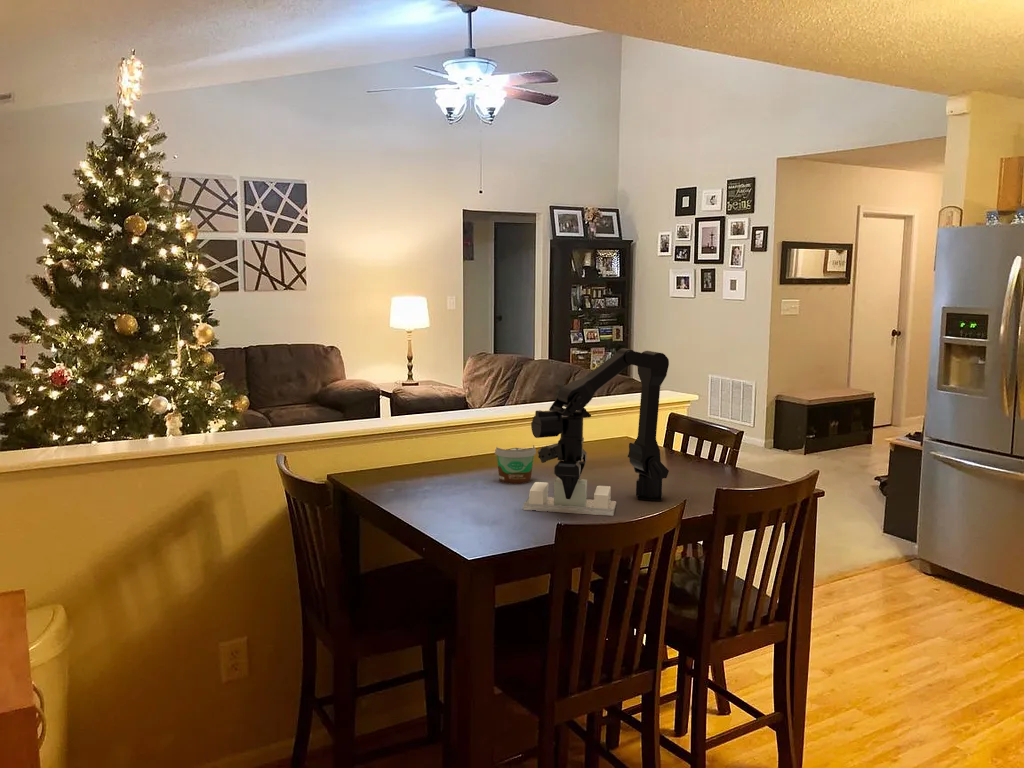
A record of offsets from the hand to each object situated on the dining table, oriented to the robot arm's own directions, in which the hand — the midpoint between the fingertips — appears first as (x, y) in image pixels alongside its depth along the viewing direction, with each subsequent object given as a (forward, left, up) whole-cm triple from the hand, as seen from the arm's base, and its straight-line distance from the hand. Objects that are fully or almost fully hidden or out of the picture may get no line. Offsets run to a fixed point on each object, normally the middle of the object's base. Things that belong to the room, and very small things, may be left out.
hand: (570, 494), depth 215 cm
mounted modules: (0, 0, -4) cm, 4 cm away
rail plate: (0, 0, -4) cm, 4 cm away
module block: (0, 0, -2) cm, 2 cm away
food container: (+18, -22, -4) cm, 29 cm away
